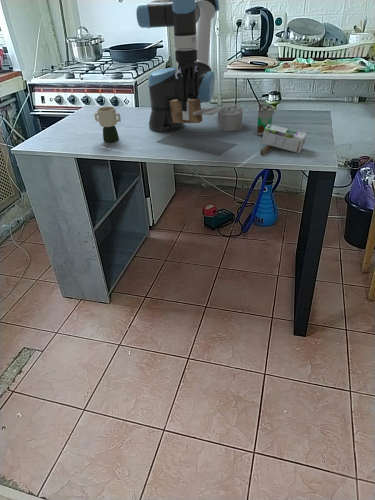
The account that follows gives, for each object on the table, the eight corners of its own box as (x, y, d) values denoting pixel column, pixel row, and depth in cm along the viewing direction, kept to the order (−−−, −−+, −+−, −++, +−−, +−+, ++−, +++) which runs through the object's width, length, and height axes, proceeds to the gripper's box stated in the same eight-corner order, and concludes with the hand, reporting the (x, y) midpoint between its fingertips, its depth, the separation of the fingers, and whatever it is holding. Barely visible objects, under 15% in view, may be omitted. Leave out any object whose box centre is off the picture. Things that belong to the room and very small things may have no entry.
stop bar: (260, 154, 137) (260, 150, 136) (274, 144, 145) (274, 140, 144) (263, 155, 137) (263, 151, 136) (277, 144, 144) (277, 140, 144)
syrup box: (268, 123, 141) (307, 132, 137) (265, 138, 145) (303, 147, 141) (263, 128, 137) (304, 138, 133) (260, 144, 141) (299, 153, 137)
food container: (272, 138, 150) (274, 112, 145) (256, 138, 152) (258, 112, 146) (273, 128, 160) (275, 103, 154) (258, 128, 161) (259, 103, 156)
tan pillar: (168, 124, 147) (165, 102, 143) (181, 118, 152) (178, 97, 148) (212, 125, 136) (210, 102, 132) (224, 119, 141) (222, 96, 137)
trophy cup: (127, 138, 159) (122, 106, 151) (120, 144, 153) (115, 111, 146) (102, 137, 161) (97, 105, 154) (95, 143, 156) (89, 110, 148)
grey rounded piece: (242, 122, 168) (243, 102, 163) (240, 132, 158) (241, 111, 153) (219, 122, 170) (219, 102, 165) (215, 132, 160) (215, 111, 155)
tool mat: (155, 143, 152) (155, 142, 152) (174, 133, 161) (174, 132, 161) (219, 156, 138) (219, 155, 137) (237, 145, 146) (237, 144, 146)
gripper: (180, 53, 124) (184, 125, 138) (207, 45, 135) (208, 113, 148) (162, 52, 128) (168, 122, 141) (190, 45, 138) (193, 111, 152)
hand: (189, 118), depth 145 cm, fingers closed on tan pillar, 3 cm apart
